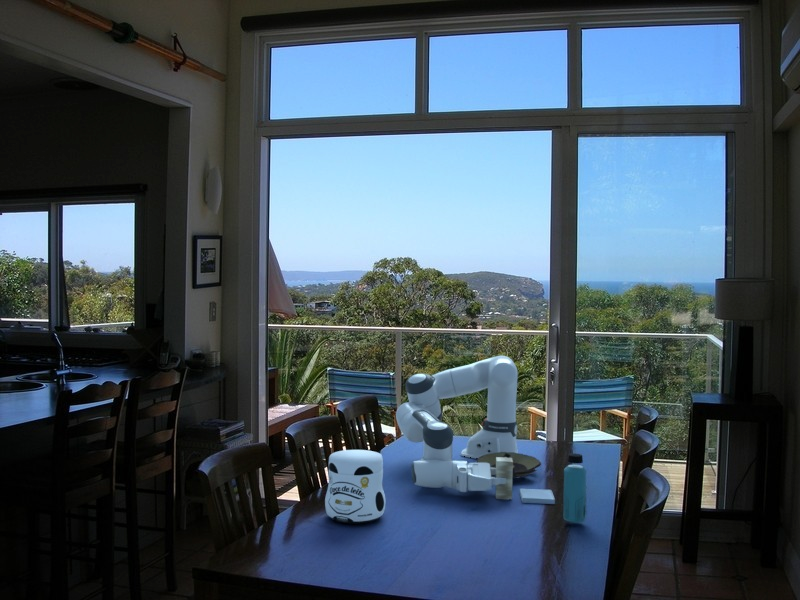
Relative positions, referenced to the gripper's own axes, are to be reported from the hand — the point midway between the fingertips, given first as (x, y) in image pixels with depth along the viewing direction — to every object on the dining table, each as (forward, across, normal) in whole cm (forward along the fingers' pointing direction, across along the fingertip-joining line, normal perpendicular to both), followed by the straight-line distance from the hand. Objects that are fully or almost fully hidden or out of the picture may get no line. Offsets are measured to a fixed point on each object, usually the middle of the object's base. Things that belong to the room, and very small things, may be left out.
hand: (505, 476), depth 229 cm
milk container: (-44, +27, -7) cm, 52 cm away
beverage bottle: (+18, +23, -7) cm, 30 cm away
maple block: (0, 0, -6) cm, 7 cm away
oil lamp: (+1, -25, -7) cm, 26 cm away
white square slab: (+10, 0, -6) cm, 12 cm away
